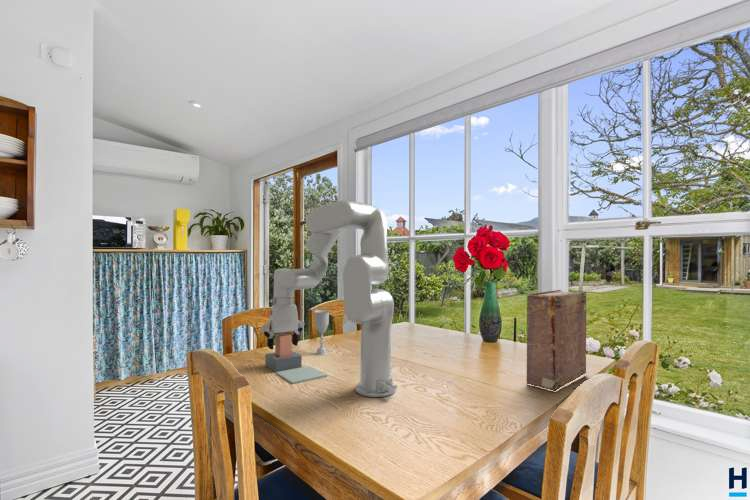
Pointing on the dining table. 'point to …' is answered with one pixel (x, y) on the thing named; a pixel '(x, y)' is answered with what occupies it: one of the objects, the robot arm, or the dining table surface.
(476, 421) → the dining table surface
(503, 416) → the dining table surface
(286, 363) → the grey square socket block
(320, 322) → the chalice
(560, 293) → the book
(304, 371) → the mat
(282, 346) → the plug
